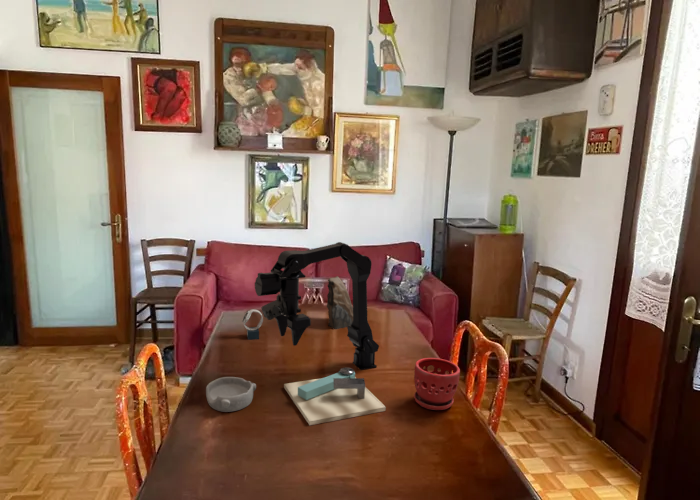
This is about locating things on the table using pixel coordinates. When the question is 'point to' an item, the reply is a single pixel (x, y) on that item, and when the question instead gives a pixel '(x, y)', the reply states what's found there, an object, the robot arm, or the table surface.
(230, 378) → the dish
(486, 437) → the table surface
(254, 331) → the watch
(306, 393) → the link
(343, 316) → the grey tall stone
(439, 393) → the plant pot
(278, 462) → the table surface
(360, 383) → the pintle and keeper
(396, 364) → the table surface
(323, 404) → the base board
